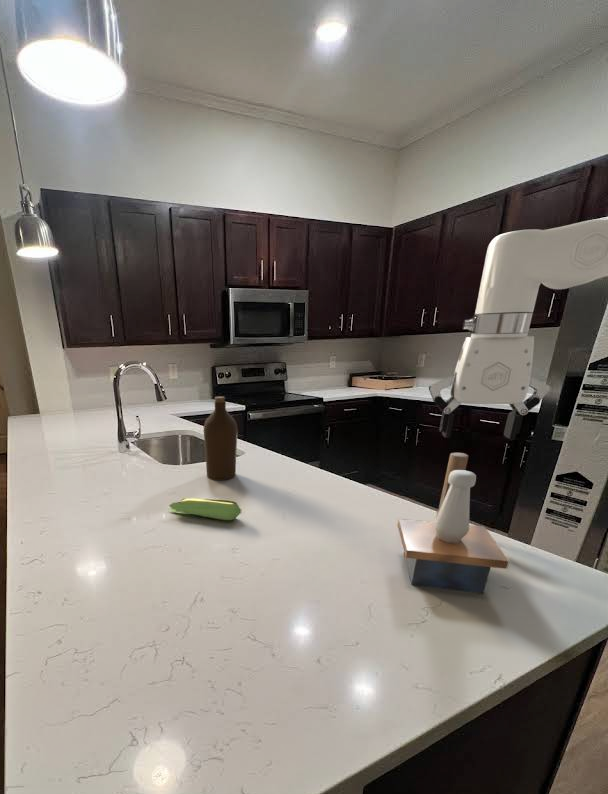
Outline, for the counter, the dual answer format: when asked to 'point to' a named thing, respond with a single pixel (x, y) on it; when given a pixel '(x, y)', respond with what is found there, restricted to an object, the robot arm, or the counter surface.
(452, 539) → the salt shaker
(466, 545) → the stand
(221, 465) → the olive oil
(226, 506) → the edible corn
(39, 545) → the counter surface
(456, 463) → the wooden block
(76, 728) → the counter surface
